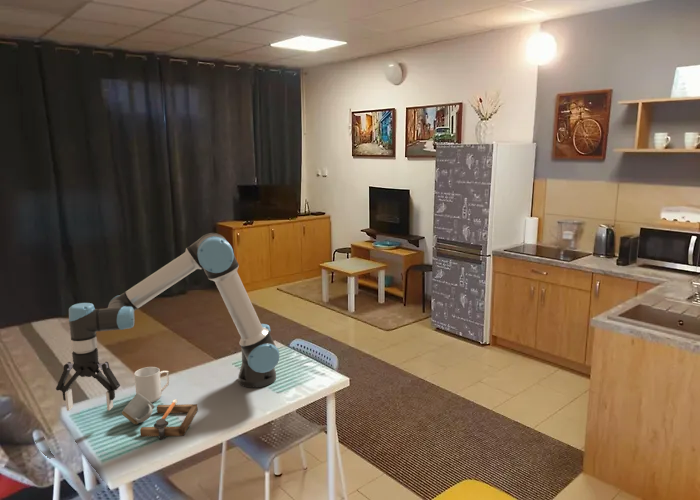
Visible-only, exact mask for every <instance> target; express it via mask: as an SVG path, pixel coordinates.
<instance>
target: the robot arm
mask: <svg viewBox="0 0 700 500" xmlns="http://www.w3.org/2000/svg"><path fill="white" fill-rule="evenodd" d="M239 266H240V264H239V262H238V260H237V258H236V256H235V254H234V249H233V247H232V245H231V244H230V243H229V241H228V240H227V239H226V237H224V236H223V235H222V234H219V233H216V232H210V233H206V234H204V235H202V236H201V237H200V238H199V239H197V240H196V241H194V242H193V243H192V244H191V245H189V246H187V247H186V248H185V252H183V253H181V255H179V256H177V257H176V258H174V259H173V260H171V261H170V262H168V263H167V264H165V265H164V266H162V267H160V268H159V269H158V270H156V271H155V272H153V273H152V274H150V275H149V276H147V277H145V278H144V279H142V280H141V281H139V282H138V283H137V284H134V285H133V286H132V287H130V288H129V289H128V290H126V291H124V292H123V293H121V294H120V295H116V296H114V297H113V298H112V299H110V301H109V302H108V306H107V307H106V308H95V305H94V304H93V303H92V302H91V303H90V302H79V303H75V304H73V305H71V306H70V307H69V308H68V324H69V332H70V342H71V345H70V346H71V352H72V353H71V354H72V355H71V356H72V362H73V363H72V362H71V361H68V362H65V364H64V365H63V370H62V374H61V376H60V378H59V381H58V383H57V385H56V388H55V389H56V391H61V393H62V400H63V401H65V406H66V407H65V408H66V411H67V412H68V411H70V410H71V409H72V408H73V407H74V401H73V399H74V398H73V391H72V388H71V387H72V385H73V384H74V383H75V381H76V380H78V378H79V377H80V378H85V377H87V378H91V377H92V378H93V379H96V380H97V382H99V384H100V385H102V386H103V387H104V389H106V390H107V391H106V392H105V396H106V407H107V408H106V409H107V411H111V409H113V407H114V400H115V398H116V391H117V390H118V389H119V388H120V387H121V384H120V382H119V381H118V379H117V378H116V376H115V375H114V373H113V371H112V369H111V368H110V364H109V362H108V361H105V362H101V363H100V362H99V349H98V338H97V332H107V331H119V330H120V331H122V330H123V331H124V330H126V329H127V330H128V329H132V328H134V326H135V311H136V310H138V309H139V308H141V307H143V306H144V305H145V304H147V303H149V302H150V301H151V300H153V299H155V297H157V296H158V295H160V294H162V293H164V291H166V290H167V289H169V288H171V287H172V286H173V285H174V286H175V284H177V283H179V282H180V281H181V280H183V279H184V278H186V277H187V276H189V275H190V274H191V273H192V274H193V272H195V271H196V270H202V269H203V270H204V273H205V275H206V276H207V279H208V280H210V281H213V282H214V283H215V285H216V288H217V290H218V291H219V295H220V296H221V298H222V300H223V302H224V305H225V307H226V309H227V311H228V313H229V315H230V317H231V319H232V321H233V324H234V325H235V328H236V330H237V332H238V334H239V336H240V340H239V342H238V343H239V346H240V348H241V365H240V368H239V372H238V383H239V384H240V385H241V386H242V387H246V388H261V387H266V386H270V385H271V384H273V383H274V382H275V381H276V380H277V372H276V369H275V368H276V366H277V365H278V363H279V361H280V357H281V355H280V350H279V348H278V347H277V346H276V344H275V341H274V338H273V337H272V334H271V326H270V325H269V324H267V323H261V321H260V318H259V317H258V313H257V312H256V309H255V307H254V306H253V304H252V300H251V299H250V297H249V294H248V292H247V290H246V288H245V286H244V284H243V281H242V279H241V277H240V275H239V273H238V269H239ZM72 369H73V370H74V371H75V372H74V373H73V375H72V376H71V378H70V379H69V380H68V377H69V375H70V372H71V370H72ZM102 372H103V373H102ZM67 380H68V382H67ZM66 382H67V383H66Z"/></svg>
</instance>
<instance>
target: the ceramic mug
mask: <svg viewBox="0 0 700 500" xmlns="http://www.w3.org/2000/svg"><path fill="white" fill-rule="evenodd" d="M154 409H155V405H154V404H153V402H152V403H151V402H150V401H148V400H147V399H146V398H145V397H143V396H142V395H140V394H139V393H137V394H136V393H135V394H134V396H133V397H132V399H131V400H130V401H129V402H128V403H127V404H126V406H125V407H124V408H123V410H121V414H122V416H124V417H125V418H126V419H127V420H128V421H130V423H132V424H133V425H139V424H140V423H144V422H146V421H147V420H148V419H149V418H150V417H151V416H152V414H153V410H154Z"/></svg>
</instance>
